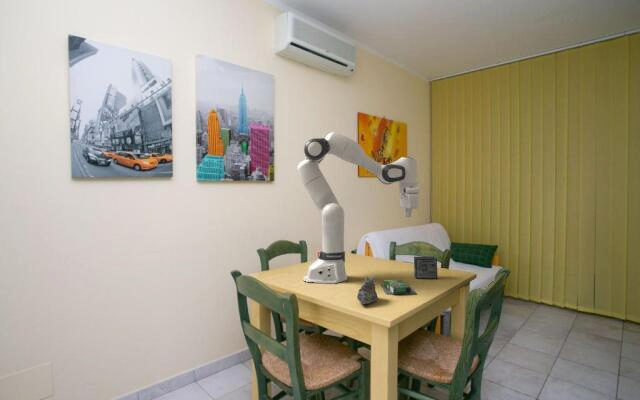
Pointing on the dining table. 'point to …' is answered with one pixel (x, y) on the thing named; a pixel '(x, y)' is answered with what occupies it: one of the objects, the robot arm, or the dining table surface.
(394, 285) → the coffee box
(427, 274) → the small box
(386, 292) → the mat
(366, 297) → the mineral rock
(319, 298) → the dining table surface
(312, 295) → the dining table surface
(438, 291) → the dining table surface
